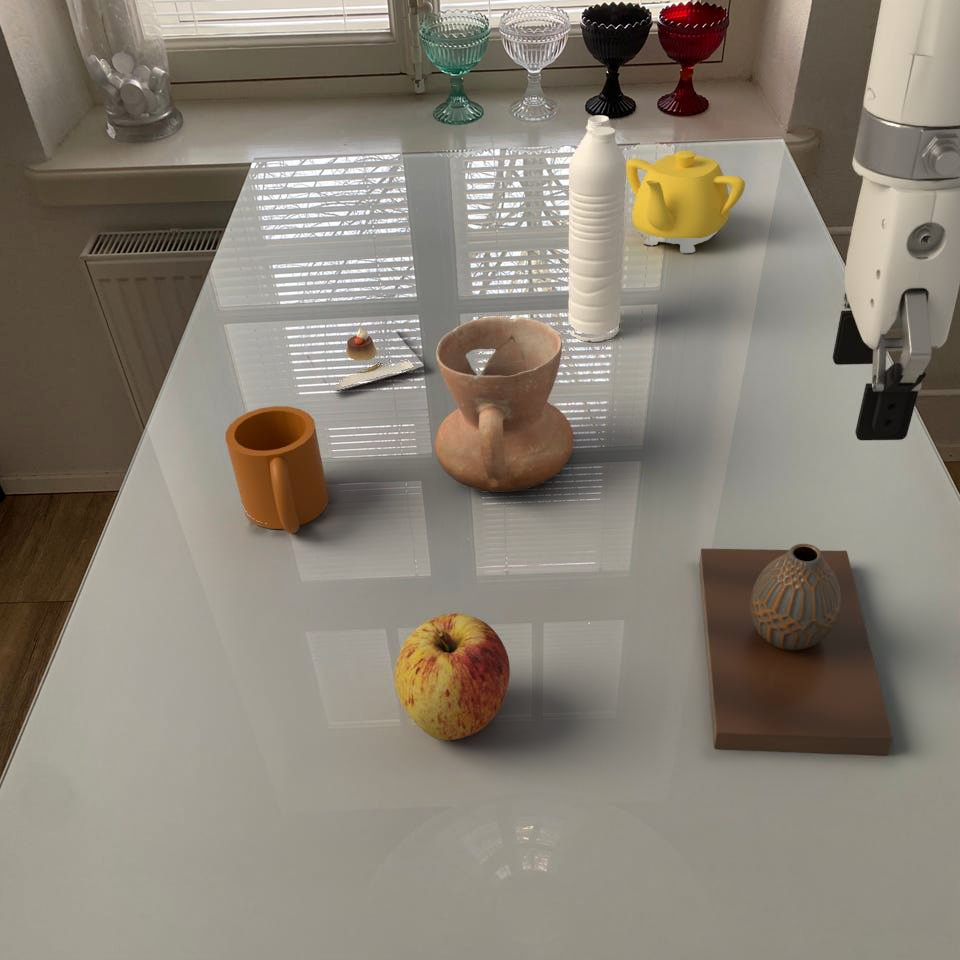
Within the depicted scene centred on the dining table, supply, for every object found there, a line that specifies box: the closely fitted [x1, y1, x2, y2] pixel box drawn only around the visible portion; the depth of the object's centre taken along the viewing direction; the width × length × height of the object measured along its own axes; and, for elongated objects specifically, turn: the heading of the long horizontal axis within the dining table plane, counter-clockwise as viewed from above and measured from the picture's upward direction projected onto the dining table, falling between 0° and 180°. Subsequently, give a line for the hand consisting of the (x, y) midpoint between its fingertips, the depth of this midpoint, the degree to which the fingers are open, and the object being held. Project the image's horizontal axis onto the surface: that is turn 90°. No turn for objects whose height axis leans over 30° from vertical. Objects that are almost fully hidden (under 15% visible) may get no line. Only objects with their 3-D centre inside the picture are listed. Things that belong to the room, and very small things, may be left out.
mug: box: [225, 405, 330, 534], centre depth 99 cm, size 9×12×9 cm
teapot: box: [626, 149, 746, 238], centre depth 138 cm, size 14×14×12 cm
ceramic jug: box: [434, 315, 575, 493], centre depth 100 cm, size 18×14×14 cm
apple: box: [394, 612, 511, 741], centre depth 77 cm, size 9×9×10 cm
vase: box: [750, 543, 841, 650], centre depth 80 cm, size 7×7×9 cm
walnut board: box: [698, 548, 894, 756], centre depth 83 cm, size 22×13×2 cm, turn 174°
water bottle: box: [567, 114, 627, 343], centre depth 116 cm, size 9×6×25 cm
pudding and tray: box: [336, 327, 416, 392], centre depth 121 cm, size 12×12×5 cm
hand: (866, 398), depth 69 cm, fingers open, 9 cm apart
